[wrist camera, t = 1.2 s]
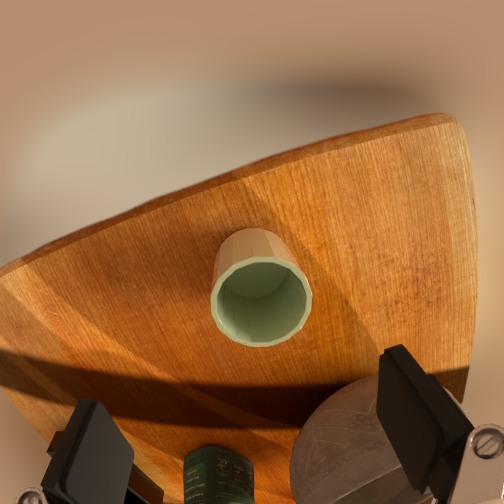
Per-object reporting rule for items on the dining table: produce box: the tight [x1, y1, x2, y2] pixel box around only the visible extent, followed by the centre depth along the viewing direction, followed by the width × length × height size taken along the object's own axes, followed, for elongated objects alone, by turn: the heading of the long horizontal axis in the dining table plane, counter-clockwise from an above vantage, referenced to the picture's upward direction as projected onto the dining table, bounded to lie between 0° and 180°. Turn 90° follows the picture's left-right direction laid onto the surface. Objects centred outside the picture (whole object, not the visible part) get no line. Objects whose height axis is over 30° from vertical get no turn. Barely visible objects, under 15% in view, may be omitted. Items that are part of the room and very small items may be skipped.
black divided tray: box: [47, 431, 164, 504], centre depth 35 cm, size 18×9×5 cm, turn 19°
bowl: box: [290, 374, 466, 504], centre depth 28 cm, size 21×21×15 cm
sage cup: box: [210, 228, 312, 347], centre depth 25 cm, size 7×7×8 cm
